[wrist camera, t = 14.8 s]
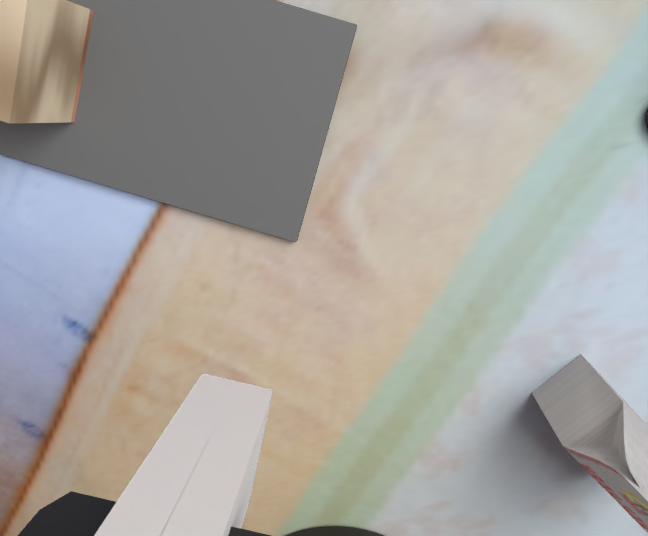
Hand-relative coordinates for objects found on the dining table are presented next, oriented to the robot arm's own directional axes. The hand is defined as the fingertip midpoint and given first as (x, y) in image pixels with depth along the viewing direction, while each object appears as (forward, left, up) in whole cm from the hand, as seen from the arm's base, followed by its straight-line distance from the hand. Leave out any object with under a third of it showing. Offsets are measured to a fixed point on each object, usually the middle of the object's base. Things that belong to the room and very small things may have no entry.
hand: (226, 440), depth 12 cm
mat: (+5, +11, -22) cm, 25 cm away
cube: (+5, +18, -16) cm, 24 cm away
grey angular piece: (-6, -19, -22) cm, 30 cm away
